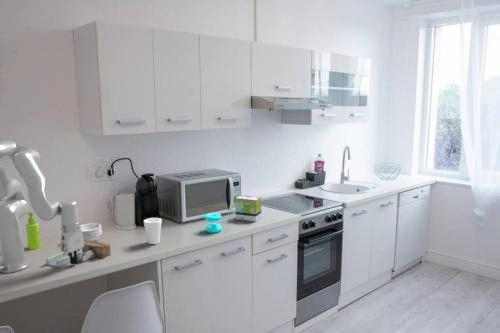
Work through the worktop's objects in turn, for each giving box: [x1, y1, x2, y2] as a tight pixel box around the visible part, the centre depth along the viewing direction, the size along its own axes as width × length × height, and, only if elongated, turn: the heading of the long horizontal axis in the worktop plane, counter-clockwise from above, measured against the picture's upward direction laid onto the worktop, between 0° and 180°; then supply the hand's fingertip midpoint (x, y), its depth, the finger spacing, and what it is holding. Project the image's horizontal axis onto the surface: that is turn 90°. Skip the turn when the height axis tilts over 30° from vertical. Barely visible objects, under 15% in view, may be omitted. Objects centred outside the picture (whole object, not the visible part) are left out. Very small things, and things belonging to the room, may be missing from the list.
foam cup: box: [143, 217, 163, 245], centre depth 218 cm, size 10×9×13 cm
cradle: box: [45, 251, 79, 268], centre depth 195 cm, size 12×9×3 cm
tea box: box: [234, 194, 262, 223], centre depth 261 cm, size 15×10×15 cm, turn 67°
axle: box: [78, 248, 97, 263], centre depth 201 cm, size 14×4×4 cm, turn 157°
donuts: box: [204, 212, 223, 234], centre depth 238 cm, size 10×10×10 cm
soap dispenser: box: [25, 211, 41, 251], centre depth 213 cm, size 6×7×20 cm
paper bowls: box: [79, 223, 103, 242], centre depth 225 cm, size 15×15×8 cm
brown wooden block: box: [81, 240, 112, 259], centre depth 203 cm, size 5×14×6 cm, turn 67°
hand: (74, 263), depth 190 cm, fingers closed
